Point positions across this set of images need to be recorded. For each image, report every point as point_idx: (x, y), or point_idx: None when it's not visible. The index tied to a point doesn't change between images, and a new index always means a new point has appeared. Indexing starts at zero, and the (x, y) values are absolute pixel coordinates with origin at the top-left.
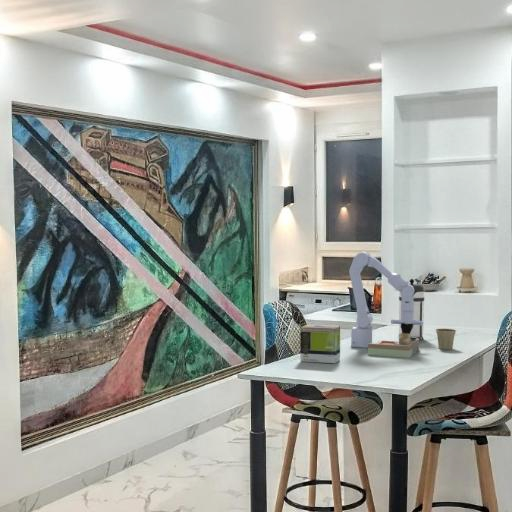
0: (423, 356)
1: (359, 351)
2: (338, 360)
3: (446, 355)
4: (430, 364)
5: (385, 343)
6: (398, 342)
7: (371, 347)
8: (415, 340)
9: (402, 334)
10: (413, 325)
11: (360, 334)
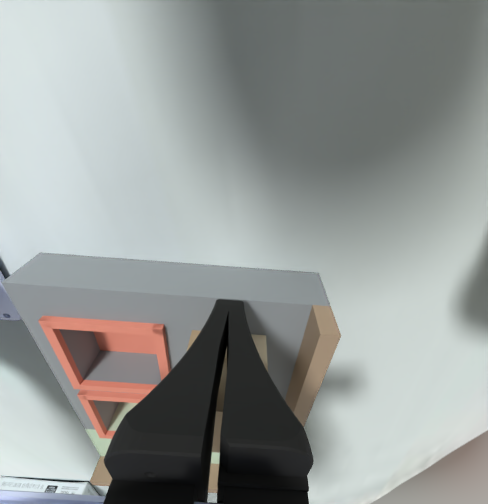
0: (328, 414)
1: (42, 388)
2: (91, 488)
3: (446, 383)
4: (337, 481)
5: (122, 398)
6: (173, 325)
7: None
8: (305, 404)
9: None
10: (312, 463)
11: None
